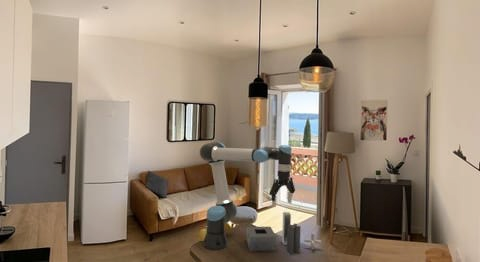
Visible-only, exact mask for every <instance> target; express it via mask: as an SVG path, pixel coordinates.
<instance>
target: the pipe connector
mask: <svg viewBox="0 0 480 262" xmlns="http://www.w3.org/2000/svg"><path fill="white" fill-rule="evenodd" d="M304 243H310V249H311V250H315V244H322V240H320V239H315V232H311V236H310V238H304Z"/></svg>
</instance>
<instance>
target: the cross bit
mask: <svg viewBox="0 0 480 262" xmlns="http://www.w3.org/2000/svg"><path fill="white" fill-rule="evenodd" d="M301 231H302V229H301V225H298V223H293V224H291V223H290V224H288V233H287V245H286V251H288V252H290V255H294V254H295V253H296V254H300V251H301Z"/></svg>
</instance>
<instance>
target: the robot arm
mask: <svg viewBox="0 0 480 262" xmlns="http://www.w3.org/2000/svg"><path fill="white" fill-rule="evenodd" d="M199 156H200V158H201V159H202V160H203V161H205V162H208V164H209V165H210V166H211V171H212V178H213V182H214V188H215V193H216V195H215V196H216V199H217V200H216V202H215V205H213V206H210V207H208V208H207V211H206V232H205V236H204V238H203V247H205V248H206V249H208V250H214V251H217V250H222V249H224V248H226V247H228V239H227V235H226V224H228V223H230V222H231V221H233V220H234V219H235V217H236V216H237V214H238V208H237V205H236V204H235V203H234V201H233V199H232V198H231V197H230V191H229V185H228V180H227V176H226V175H227V174H226V173H227V172H226V168H225V162H226V161H239V162H256V163H259V164H260V163H265V162H267V161H270V160H273V161H277V178H274V179H273V184H272V186H271V188H270V191H269V195H270V196H271V206H272V207H274V208H276V207H277V194H278V192H279V191H280V189H281V188H282V187H284V186H285V187H286V189H287V190H288V192H287V203H288V204H292V200H293V199H292V198H293V194H294V193H295V192H296V189H295V185H294V182H293V177H291V164H292V163H291V161H292V146H291V145H287V144H280V145H279V146H278V147H273V146H261V147H260V148H243V147H241V148H239V147H238V148H237V147H236V148H235V147H226V145H225V144H223V143H222V142H220V141H219V142H218V141H215V142H209V143H205V144H203V145H202V146H201V147H200V149H199Z"/></svg>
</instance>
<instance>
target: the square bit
mask: <svg viewBox="0 0 480 262" xmlns="http://www.w3.org/2000/svg"><path fill="white" fill-rule="evenodd" d="M291 219H292V216H291V213H290V212H287V211H285V212H282V231H281V232H282V237H281V238H282V239H281V241H282V242H281V243H282V244H283V246H287V233H288V224H290V225H291Z"/></svg>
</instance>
